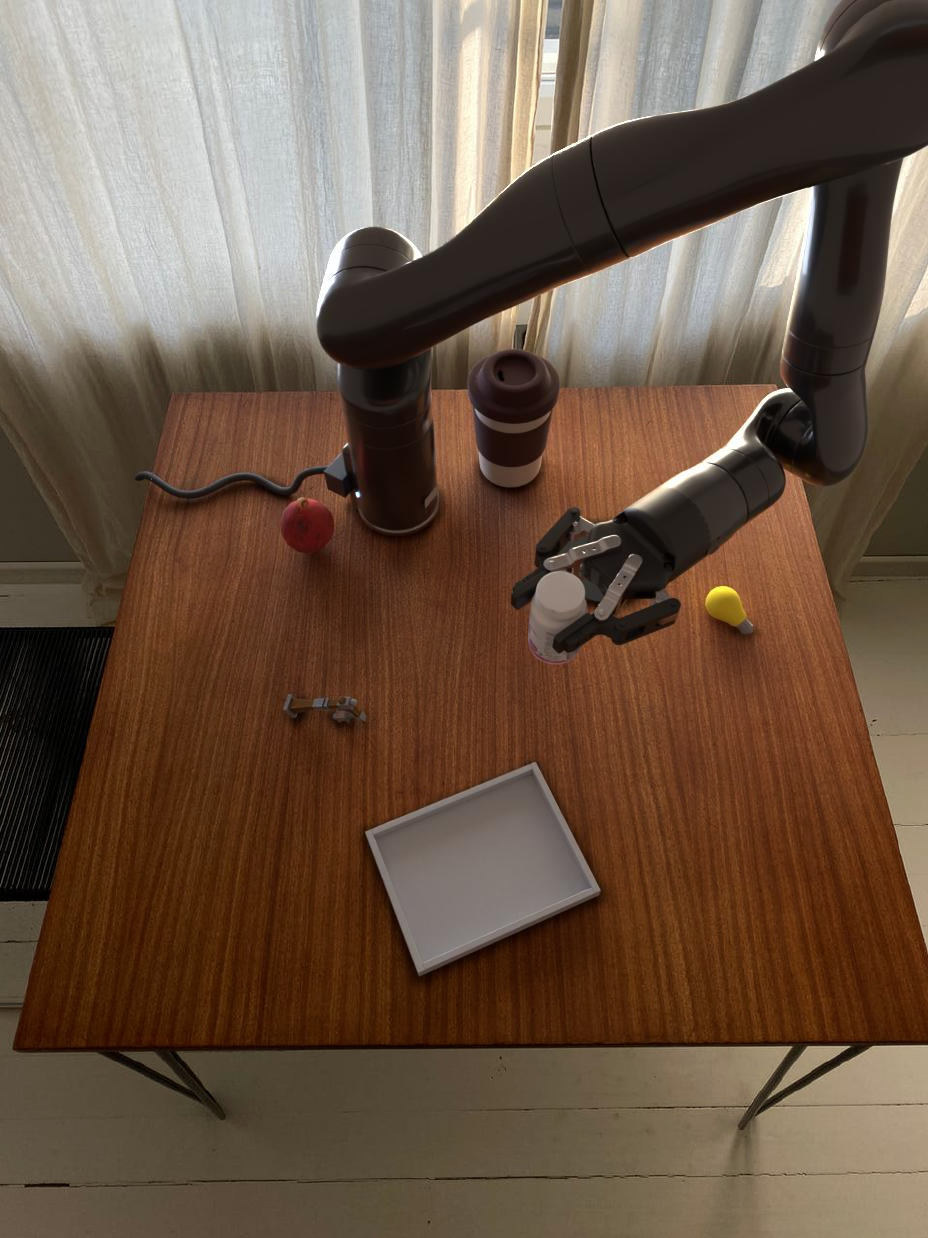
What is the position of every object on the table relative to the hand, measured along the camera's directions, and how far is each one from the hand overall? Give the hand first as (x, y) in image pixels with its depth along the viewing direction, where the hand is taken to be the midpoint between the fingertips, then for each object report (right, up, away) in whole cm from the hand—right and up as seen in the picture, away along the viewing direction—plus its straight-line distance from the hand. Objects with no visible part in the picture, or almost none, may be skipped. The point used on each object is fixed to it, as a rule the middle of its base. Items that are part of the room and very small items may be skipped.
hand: (535, 623), depth 72 cm
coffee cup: (0, +19, +33) cm, 38 cm away
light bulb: (+24, +2, +20) cm, 31 cm away
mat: (+9, +7, +25) cm, 27 cm away
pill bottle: (+2, -2, +6) cm, 7 cm away
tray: (-4, -22, +7) cm, 23 cm away
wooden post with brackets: (-20, -9, +16) cm, 27 cm away
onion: (-23, +8, +27) cm, 36 cm away
